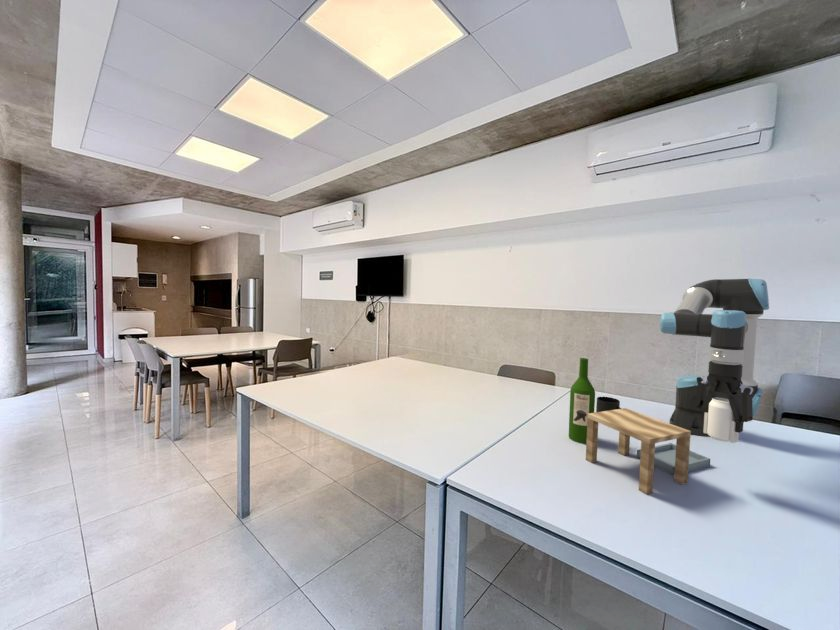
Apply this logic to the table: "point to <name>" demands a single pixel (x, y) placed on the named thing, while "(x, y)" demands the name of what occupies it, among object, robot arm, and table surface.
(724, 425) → the beverage can
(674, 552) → the table surface
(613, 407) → the mug
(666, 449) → the tray
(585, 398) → the wine bottle
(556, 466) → the table surface
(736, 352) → the robot arm
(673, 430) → the small wooden table
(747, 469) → the table surface
